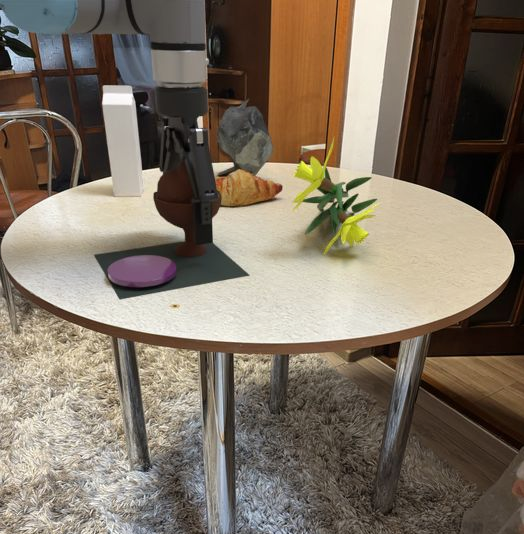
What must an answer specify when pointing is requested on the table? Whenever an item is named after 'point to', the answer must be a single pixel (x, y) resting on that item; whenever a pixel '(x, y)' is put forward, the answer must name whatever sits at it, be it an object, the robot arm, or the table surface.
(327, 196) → the daffodil flowers
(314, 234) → the table surface
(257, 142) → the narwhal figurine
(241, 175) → the croissant
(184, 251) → the ice cream bowl
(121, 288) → the placemat
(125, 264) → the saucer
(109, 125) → the milk
